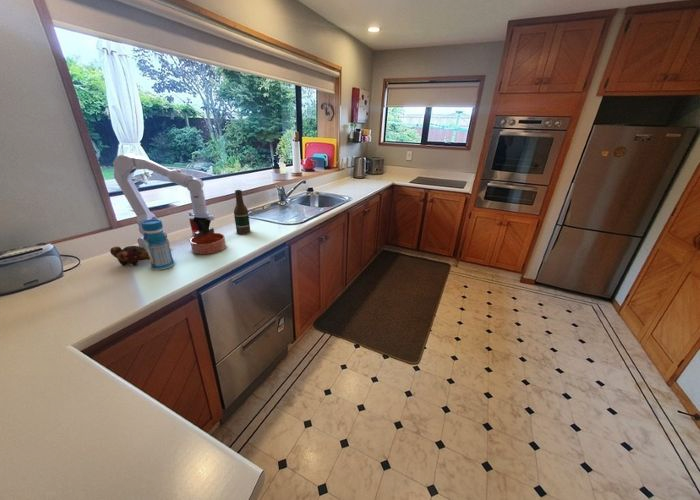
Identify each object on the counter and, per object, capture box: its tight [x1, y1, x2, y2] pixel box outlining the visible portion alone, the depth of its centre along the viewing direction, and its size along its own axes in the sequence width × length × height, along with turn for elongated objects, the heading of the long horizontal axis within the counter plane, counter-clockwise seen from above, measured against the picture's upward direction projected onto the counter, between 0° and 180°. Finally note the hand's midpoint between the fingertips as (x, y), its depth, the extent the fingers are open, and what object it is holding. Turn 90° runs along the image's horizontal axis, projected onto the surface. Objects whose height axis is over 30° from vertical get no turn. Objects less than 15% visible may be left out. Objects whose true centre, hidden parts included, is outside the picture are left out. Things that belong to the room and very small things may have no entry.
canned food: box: [188, 216, 199, 237], centre depth 150 cm, size 8×8×11 cm
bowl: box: [189, 232, 227, 255], centre depth 136 cm, size 15×15×6 cm
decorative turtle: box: [109, 245, 150, 267], centre depth 120 cm, size 10×15×8 cm, turn 104°
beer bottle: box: [233, 189, 251, 236], centre depth 154 cm, size 8×8×24 cm
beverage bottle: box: [141, 218, 175, 271], centre depth 116 cm, size 8×8×20 cm
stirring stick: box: [194, 226, 215, 238], centre depth 135 cm, size 9×2×2 cm, turn 155°
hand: (204, 232), depth 135 cm, fingers closed on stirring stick, 2 cm apart
